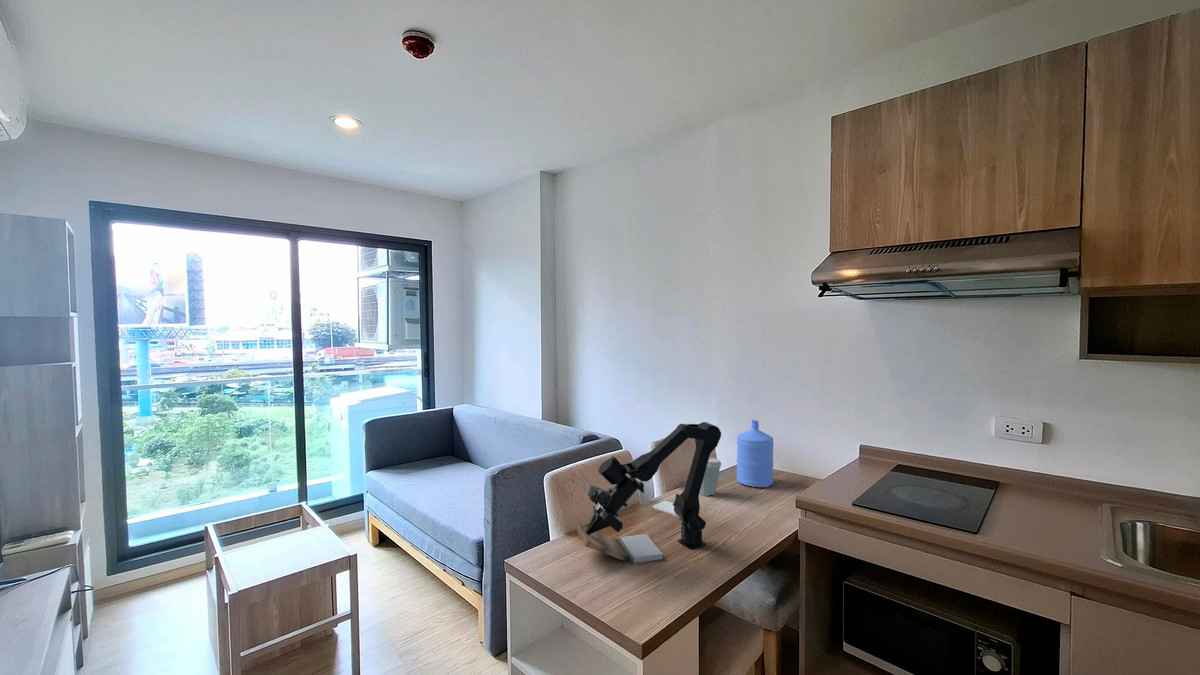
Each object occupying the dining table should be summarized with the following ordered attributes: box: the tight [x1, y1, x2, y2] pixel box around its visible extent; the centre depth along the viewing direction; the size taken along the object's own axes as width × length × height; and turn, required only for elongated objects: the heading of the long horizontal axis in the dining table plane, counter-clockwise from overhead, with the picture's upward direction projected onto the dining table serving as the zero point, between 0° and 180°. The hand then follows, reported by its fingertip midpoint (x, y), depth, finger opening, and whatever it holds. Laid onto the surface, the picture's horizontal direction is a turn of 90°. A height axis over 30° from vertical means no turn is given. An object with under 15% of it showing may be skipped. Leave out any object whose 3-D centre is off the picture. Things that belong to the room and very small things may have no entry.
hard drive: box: [652, 500, 679, 518], centre depth 177 cm, size 2×8×12 cm
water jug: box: [736, 419, 774, 487], centre depth 208 cm, size 16×16×28 cm
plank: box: [576, 524, 629, 563], centre depth 142 cm, size 14×12×2 cm
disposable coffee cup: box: [699, 456, 722, 497], centre depth 194 cm, size 11×11×15 cm
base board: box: [616, 533, 664, 564], centre depth 145 cm, size 10×14×2 cm
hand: (587, 533), depth 141 cm, fingers closed, pressing on plank
